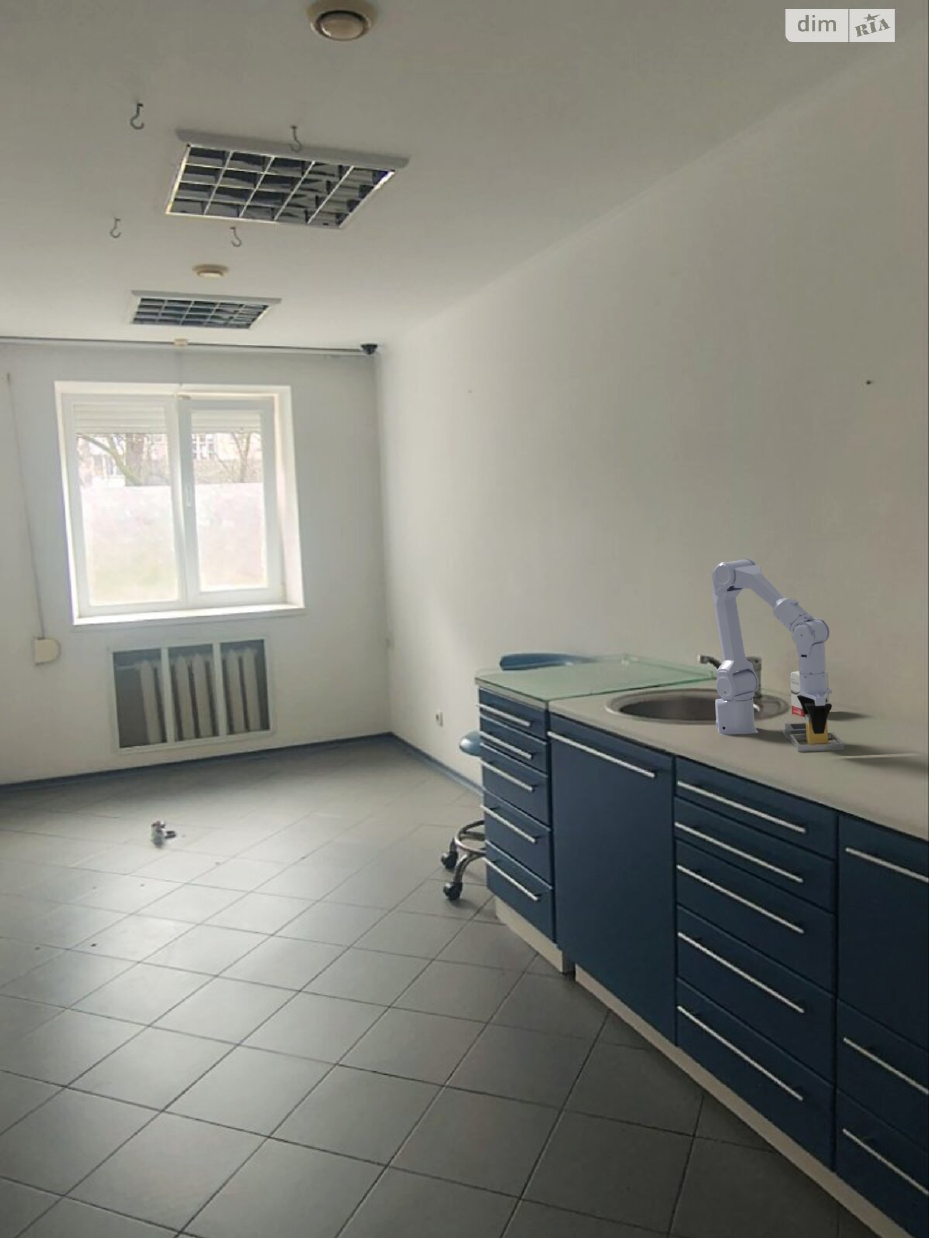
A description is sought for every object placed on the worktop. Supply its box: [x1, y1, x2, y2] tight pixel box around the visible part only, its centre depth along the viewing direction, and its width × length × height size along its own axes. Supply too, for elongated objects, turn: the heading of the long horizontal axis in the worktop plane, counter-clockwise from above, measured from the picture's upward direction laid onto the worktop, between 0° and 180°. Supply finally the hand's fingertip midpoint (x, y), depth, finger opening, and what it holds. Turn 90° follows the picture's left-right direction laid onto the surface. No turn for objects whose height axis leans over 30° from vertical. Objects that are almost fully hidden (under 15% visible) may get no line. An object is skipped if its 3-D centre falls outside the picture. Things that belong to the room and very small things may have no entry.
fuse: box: [804, 714, 829, 745], centre depth 204 cm, size 4×4×7 cm
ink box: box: [790, 670, 830, 717], centre depth 233 cm, size 8×5×12 cm, turn 103°
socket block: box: [780, 721, 806, 740], centre depth 215 cm, size 9×9×2 cm
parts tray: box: [789, 732, 845, 753], centre depth 204 cm, size 10×10×2 cm
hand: (815, 729), depth 204 cm, fingers open, 7 cm apart
